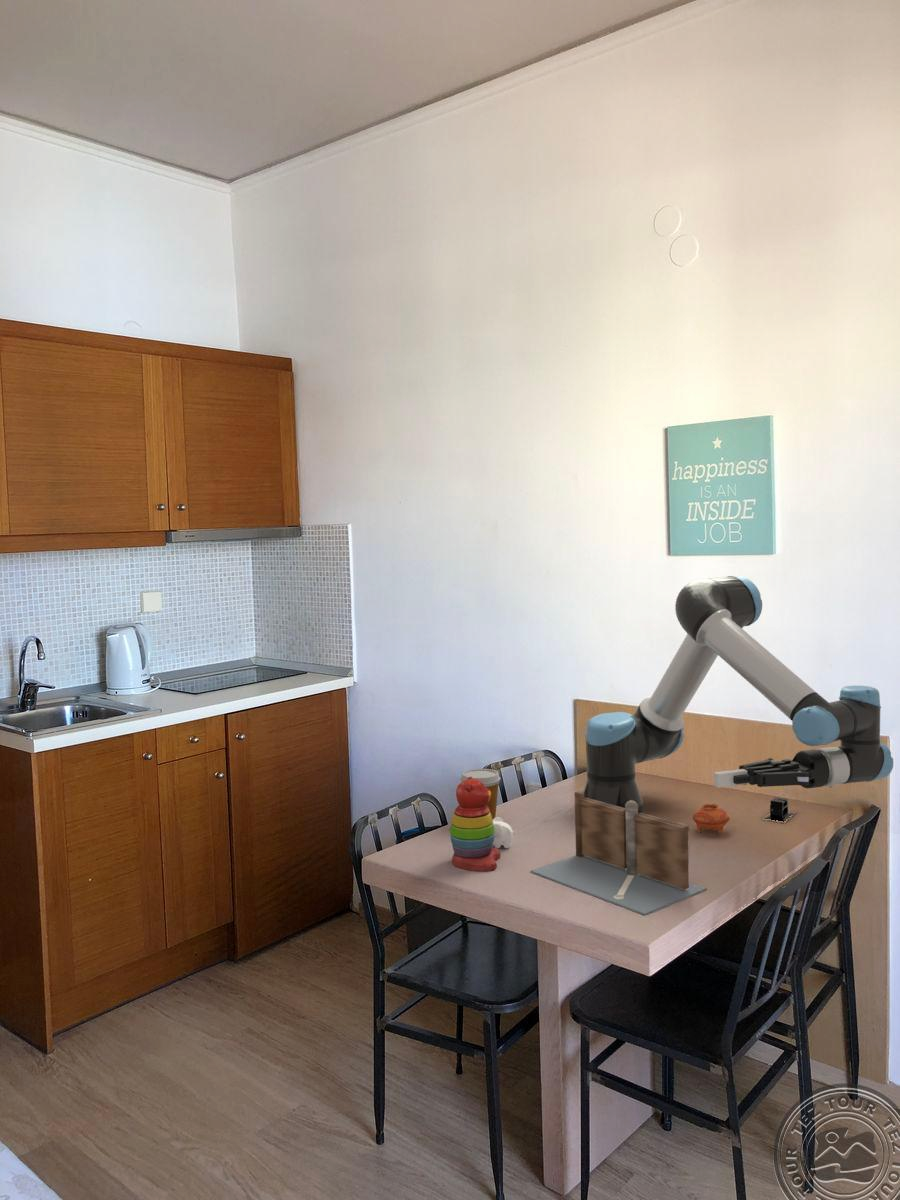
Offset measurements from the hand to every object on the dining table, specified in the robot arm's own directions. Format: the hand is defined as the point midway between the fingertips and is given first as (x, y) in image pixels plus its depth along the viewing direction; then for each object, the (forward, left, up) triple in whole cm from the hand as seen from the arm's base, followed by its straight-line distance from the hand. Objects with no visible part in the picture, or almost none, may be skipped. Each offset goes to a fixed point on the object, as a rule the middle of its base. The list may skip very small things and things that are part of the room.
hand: (716, 780), depth 192 cm
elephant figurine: (-48, -1, -20) cm, 52 cm away
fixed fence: (-22, -2, -20) cm, 30 cm away
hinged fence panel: (-9, -7, -19) cm, 22 cm away
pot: (-10, +29, -20) cm, 36 cm away
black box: (+1, +47, -21) cm, 51 cm away
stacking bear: (-48, -12, -20) cm, 53 cm away
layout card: (-17, -9, -20) cm, 28 cm away
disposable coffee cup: (-60, +12, -20) cm, 64 cm away
